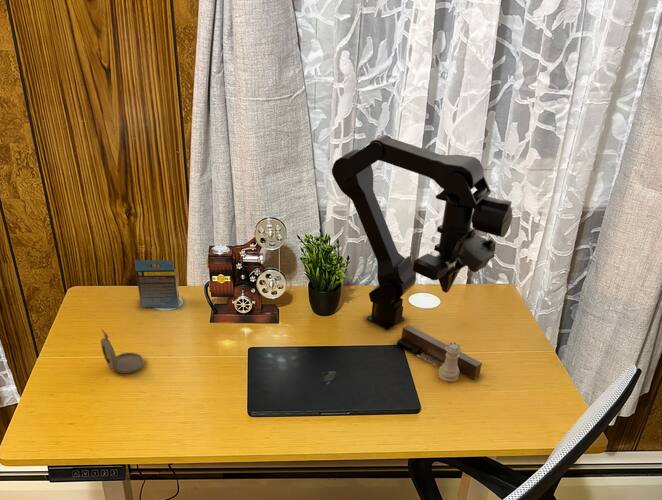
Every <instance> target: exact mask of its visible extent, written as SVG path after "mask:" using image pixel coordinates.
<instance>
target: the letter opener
mask: <svg viewBox="0 0 662 500" xmlns="http://www.w3.org/2000/svg"><path fill="white" fill-rule="evenodd" d="M401 338H402V337H401ZM401 338H400V339H398V340H396V346H397V347H399V348H400V349H402V350H404V351H406V352H408V353H409V354H411V355H414V356H415V357H417V358H420V359H421V360H424V361H425V362H427V363H429V364H431V365H433V366H434V367H438V366H440V365H441V362H439V361H438V360H436V359H434V358H432V357H430V356H428V355H426V354H425V353H423V352H421V348H420V347H418V346H416V345H414V344H413V343H411V342H409V341H407V340H405V339H403V338H402V339H401Z"/></svg>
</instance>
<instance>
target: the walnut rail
mask: <svg viewBox="0 0 662 500" xmlns="http://www.w3.org/2000/svg"><path fill="white" fill-rule="evenodd" d="M402 338H403V339H405V340H407V341H409V342H411V343H413V344H414V345H416V346H418V347H420V348H421V352H422V353H424V354H425V355H427V356H429V357H431V358H433V359H435V360H437V361H438V362H440V364H442V365H443V364H444V362H445V359H446V353H447V351H446V346H448V344H447V343H445V342H443V341H441V340H439V339H438V338H435V337H433V336H431V335H430V334H427V333H426V332H424V331H422V330H419V329H418V328H416V327H414V326H412V325H410V324H407V325H405V326H403V327H402V330H401V337H400V339H402ZM458 354H459V357H458V360H457V366H458V368H459V371H460V373H459V374H462V375H464V376H466V377H467V378H469V379H471V380H476V379H477V378H479V377H480V373H481V370H482V366H483V365H482V364H483V362H481V361H479V360H478V359H476V358H474V357H471V356H470V355H468V354H466V353H463V352H462V351H461V352H460V353H458Z"/></svg>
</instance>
